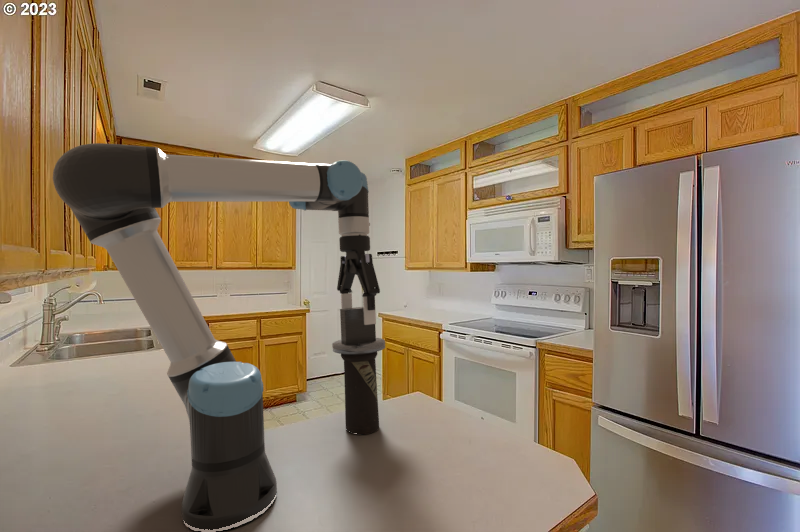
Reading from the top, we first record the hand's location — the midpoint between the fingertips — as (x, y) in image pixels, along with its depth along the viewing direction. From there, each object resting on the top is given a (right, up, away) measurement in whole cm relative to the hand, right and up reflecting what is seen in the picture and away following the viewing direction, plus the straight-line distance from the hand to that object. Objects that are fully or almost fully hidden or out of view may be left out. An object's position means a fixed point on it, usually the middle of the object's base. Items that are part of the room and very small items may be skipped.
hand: (358, 321), depth 97 cm
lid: (0, -7, 0) cm, 7 cm away
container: (+1, -27, 0) cm, 27 cm away
